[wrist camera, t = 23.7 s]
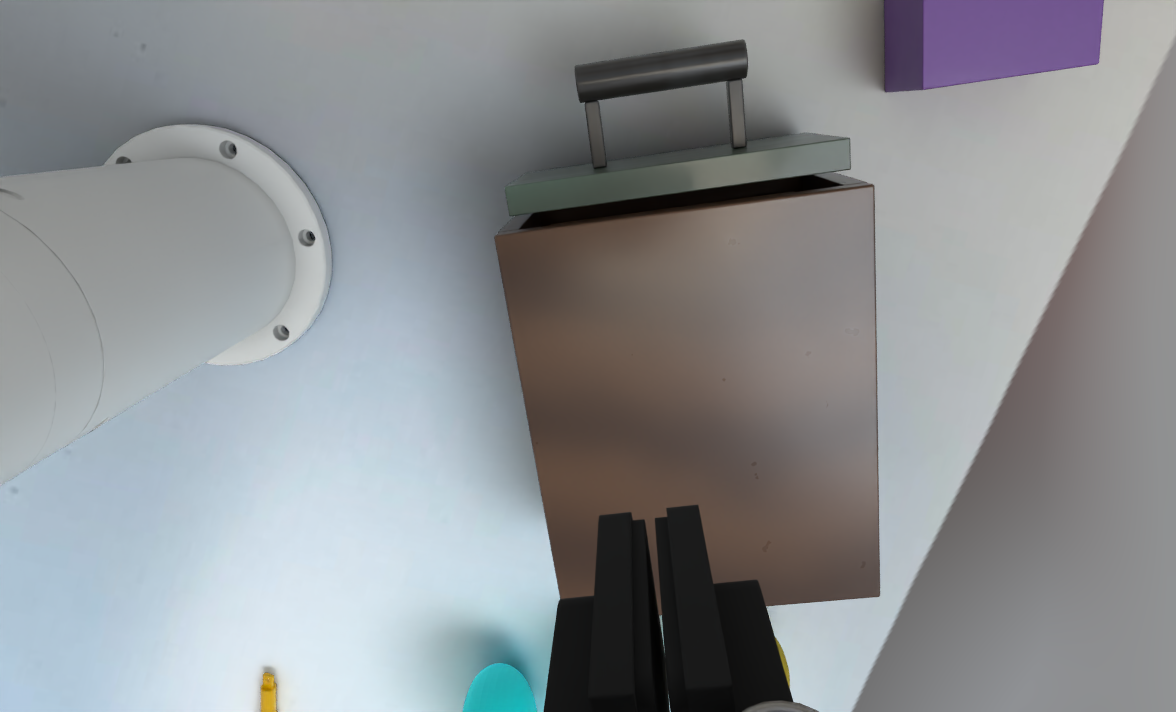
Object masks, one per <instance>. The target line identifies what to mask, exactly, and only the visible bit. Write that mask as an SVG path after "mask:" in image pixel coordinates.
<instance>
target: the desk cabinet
mask: <svg viewBox="0 0 1176 712" xmlns="http://www.w3.org/2000/svg"><path fill="white" fill-rule="evenodd" d="M792 191H794V192H792ZM784 192H792V193H785V194H778V195H770V196H763V197H755V196H762V195H769V194H777V193H784ZM747 197H755V198H748V199H741V200H733V199H740V198H747ZM725 200H733V201H726V202H719V203H711V202H718V201H725ZM703 203H711V204H704V205H697V206H689V207H682V208H674V207H681V206H688V205H696V204H703ZM666 208H674V209H667V210H660V211H652V210H659V209H666ZM644 211H652V212H645V213H638V214H630V213H637V212H644ZM622 214H630V215H623V216H615V215H622ZM607 216H615V217H608V218H601V219H593V218H600V217H607ZM585 219H593V220H586V221H579V222H571V221H578V220H585ZM563 222H571V223H564V224H557V225H551V224H556V223H563ZM494 239H495V245H496V250H497V255H498V261H499V266H500V272H501V277H502V283H503V288H504V294H505V299H506V305H507V310H508V316H509V321H510V327H511V332H512V338H513V343H514V348H515V354H516V359H517V365H518V370H519V376H520V381H521V387H522V392H523V398H524V403H525V409H526V414H527V420H528V425H529V431H530V436H531V441H532V447H533V452H534V458H535V463H536V469H537V474H538V480H539V485H540V491H541V496H542V502H543V507H544V513H545V518H546V524H547V529H548V534H549V540H550V545H551V551H552V556H553V562H554V567H555V573H556V578H557V584H558V589H559V595H560V599H564V598H574V597H584V596H594V586H595V570H596V553H597V537H598V521H599V516H600V515H607V514H616V513H625V512H631V513H632V518H633V520H641V519H645V524H646V530H647V537H648V544H649V551H650V557H651V564H652V571H653V578H654V584H655V591H656V598H657V605H658V612H659V615H662V609H661V596H660V583H659V570H658V557H657V543H656V530H655V518H659V517H667V511H666V508H670V507H679V506H689V505H698V506H699V511H700V516H701V521H702V527H703V532H704V537H705V543H706V548H707V553H708V558H709V564H710V569H711V574H712V579H713V584H715V583H725V582H735V581H745V580H755V579H757V580H758V582H759V585H760V588H761V591H762V594H763V598H764V601H765V605H766V606H775V605H786V604H798V603H810V602H822V601H834V600H846V599H857V598H869V597H879V596H880V556H879V484H878V412H877V340H876V268H875V196H874V185H873V184H869V183H867V182H864V181H861V180H857V179H854V178H851V177H847V176H844V175H841V174H837V173H834V172H829V173H821V174H814V175H807V176H800V177H792V178H785V179H778V180H770V181H763V182H756V183H749V184H741V185H734V186H727V187H720V188H712V189H705V190H698V191H690V192H683V193H676V194H669V195H661V196H654V197H647V198H640V199H632V200H625V201H618V202H611V203H603V204H596V205H589V206H581V207H574V208H567V209H560V210H552V211H545V212H538V213H531V214H523V215H516V216H514V217H513V218H512V219H511V220H510V221H509V222H508V223H507V224H506V225H505V226H504V227H503V228H502V229H501V230H500V231H499V232H498V233H497V234H496V235H495V237H494Z"/></svg>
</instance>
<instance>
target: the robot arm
mask: <svg viewBox="0 0 1176 712" xmlns="http://www.w3.org/2000/svg"><path fill="white" fill-rule="evenodd" d="M234 145H235V146H236V148H237V153H235V152H234V150H233V146H234ZM310 231H311V232H313V234H314V236H315V240H313V239H312V238H311V237H310ZM331 275H332V250H331V245H330V240H329V235H328V231H327V227H326V224H325V222H324V219H323V217H322V214H321V212H320V209H319V207H318V204H317V203H316V201H315V200H314V198H313V196H312V195H311V193H310V191H309V190H308V188H307V187H306V185H305V183H304V182H303V181H302V180H301V179H300V178H299V177H298V175H297V174H296V173H295V172H294V171H293V170H292V169H291V167H290V166H289V165H288V164H287V163H286V162H284V161H283V160H282V159H281V158H279V157H278V156H277V155H276V154H275V153H273V152H272V151H271V150H270V149H268V148H267V147H265V146H263V145H261V144H260V143H258V142H256V141H254V140H253V139H251V138H249V137H247V136H245V135H242V134H240V133H237V132H234V131H231V130H228V129H225V128H222V127H215V126H209V125H202V124H178V125H171V126H165V127H158V128H154V129H152V130H149V131H147V132H144V133H142V134H139V135H137V136H135V137H133V138H132V139H130V140H129V141H128V142H126V143H125V144H123V145H122V146H120V147H119V148H118V149H117V150H116V151H115V152H114V153H113V154H112V155H111V156H110V158H109V159H108V160H107V161H106V162H105V163H104V164H103V166H96V167H87V168H77V169H68V170H58V171H49V172H40V173H30V174H21V175H12V176H2V177H0V486H2V485H3V484H5V483H6V482H8V481H10V480H11V479H13V478H14V477H16V476H18V475H19V474H21V473H22V472H24V471H26V470H27V469H29V468H31V467H32V466H34V465H36V464H37V463H39V462H41V461H42V460H44V459H46V458H47V457H49V456H51V455H52V454H54V453H56V452H57V451H59V450H60V449H62V448H64V447H66V446H68V445H69V444H71V443H73V442H74V441H76V440H78V439H80V438H81V437H83V436H85V435H86V434H88V433H90V432H91V431H93V430H95V429H96V428H98V427H100V426H101V425H103V424H104V423H106V422H108V421H109V420H111V419H113V418H114V417H116V416H118V415H119V414H121V413H122V412H124V411H126V410H127V409H129V408H131V407H132V406H134V405H136V404H137V403H139V402H141V401H142V400H144V399H146V398H147V397H149V396H151V395H152V394H154V393H156V392H157V391H159V390H161V389H162V388H164V387H166V386H167V385H169V384H171V383H172V382H174V381H176V380H177V379H179V378H180V377H182V376H184V375H185V374H187V373H189V372H190V371H192V370H194V369H195V368H197V367H199V366H200V365H202V364H204V363H207V364H213V365H220V366H225V365H244V364H249V363H253V362H258V361H262V360H264V359H266V358H269V357H271V356H273V355H275V354H277V353H280V352H281V351H283V350H284V349H286V348H287V347H289V346H290V345H292V344H293V343H295V342H296V341H297V340H298V339H299V338H300V337H301V336H302V335H303V334H304V333H305V332H306V331H308V330H309V329H310V327H311V326H312V324H313V323H314V321H315V320H316V318H317V317H318V315H319V314H320V313H321V310H322V308H323V305H324V303H325V300H326V298H327V295H328V292H329V287H330V281H331ZM285 327H286V328H287V329H288V331H289V332H287V331H286V330H285ZM666 511H667V517H659V518H655V530H656V543H657V557H658V570H659V583H660V596H661V609H662V622H663V636H664V645H663V639H662V632H661V625H660V618H659V612H658V605H657V598H656V591H655V584H654V578H653V571H652V564H651V557H650V551H649V544H648V537H647V530H646V524H645V519H641V520H633V518H632V513H631V512H625V513H616V514H607V515H600V516H599V521H598V537H597V553H596V570H595V586H594V596H584V597H574V598H564V599H560V600H559V603H558V608H557V615H556V622H555V630H554V637H553V645H552V653H551V660H550V668H549V675H548V683H547V690H546V698H545V705H544V712H670V710H671V712H818V711H817V710H815V709H812V708H810V707H807V706H805V705H803V704H800V703H795V702H793V699H792V696H791V692H790V689H789V685H788V682H787V678H786V675H785V671H784V668H783V664H782V661H781V657H780V654H779V650H778V647H777V643H776V640H775V636H774V633H773V629H772V626H771V622H770V619H769V615H768V612H767V608H766V605H765V601H764V598H763V594H762V591H761V588H760V585H759V582H758V580H757V579H755V580H745V581H735V582H725V583H715V584H713V579H712V574H711V569H710V564H709V558H708V553H707V548H706V543H705V537H704V532H703V527H702V521H701V516H700V511H699V506H698V505H689V506H679V507H670V508H666ZM664 649H665V653H664ZM668 694H669V697H668ZM669 702H670V710H669Z"/></svg>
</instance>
